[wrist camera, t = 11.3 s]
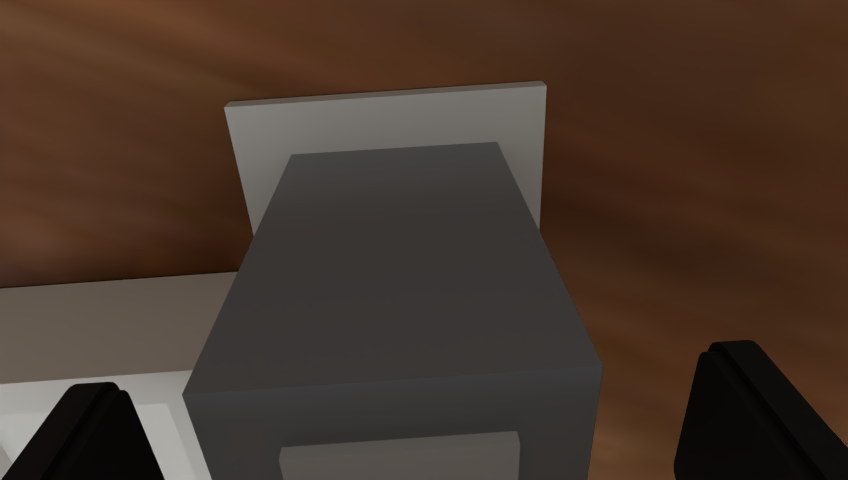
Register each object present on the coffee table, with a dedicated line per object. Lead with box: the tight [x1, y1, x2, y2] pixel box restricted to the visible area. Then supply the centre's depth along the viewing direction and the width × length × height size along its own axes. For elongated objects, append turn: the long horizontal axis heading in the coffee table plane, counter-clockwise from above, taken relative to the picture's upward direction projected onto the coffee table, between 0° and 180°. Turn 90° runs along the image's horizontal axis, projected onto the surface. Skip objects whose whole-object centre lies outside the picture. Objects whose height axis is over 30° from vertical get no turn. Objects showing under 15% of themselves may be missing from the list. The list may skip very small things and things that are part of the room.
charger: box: [182, 142, 603, 480], centre depth 11 cm, size 5×5×8 cm
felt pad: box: [224, 81, 547, 235], centre depth 15 cm, size 8×8×1 cm
